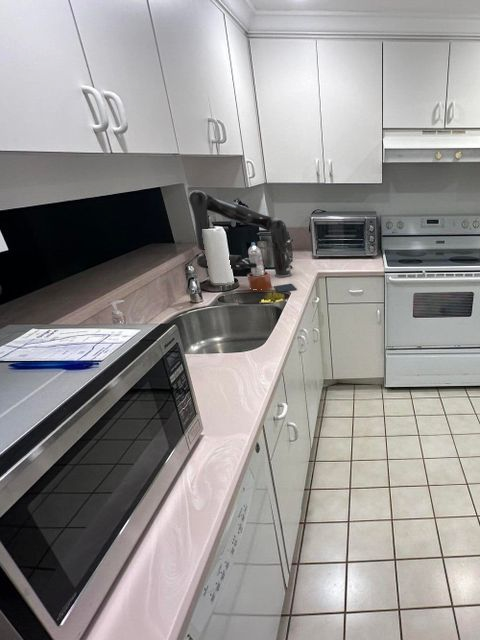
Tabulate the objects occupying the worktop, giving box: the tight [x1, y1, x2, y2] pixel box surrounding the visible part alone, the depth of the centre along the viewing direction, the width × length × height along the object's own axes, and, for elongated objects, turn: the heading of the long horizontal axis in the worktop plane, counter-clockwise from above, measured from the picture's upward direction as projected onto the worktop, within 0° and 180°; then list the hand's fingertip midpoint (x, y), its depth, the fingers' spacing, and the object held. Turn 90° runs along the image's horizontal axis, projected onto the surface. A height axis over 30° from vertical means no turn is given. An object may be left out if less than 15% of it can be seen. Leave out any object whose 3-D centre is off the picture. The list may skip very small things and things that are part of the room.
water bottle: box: [247, 241, 266, 277], centre depth 208 cm, size 7×7×25 cm
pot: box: [246, 271, 273, 293], centre depth 212 cm, size 11×11×8 cm
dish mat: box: [273, 283, 298, 294], centre depth 213 cm, size 11×10×1 cm
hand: (260, 263), depth 207 cm, fingers open, 7 cm apart
